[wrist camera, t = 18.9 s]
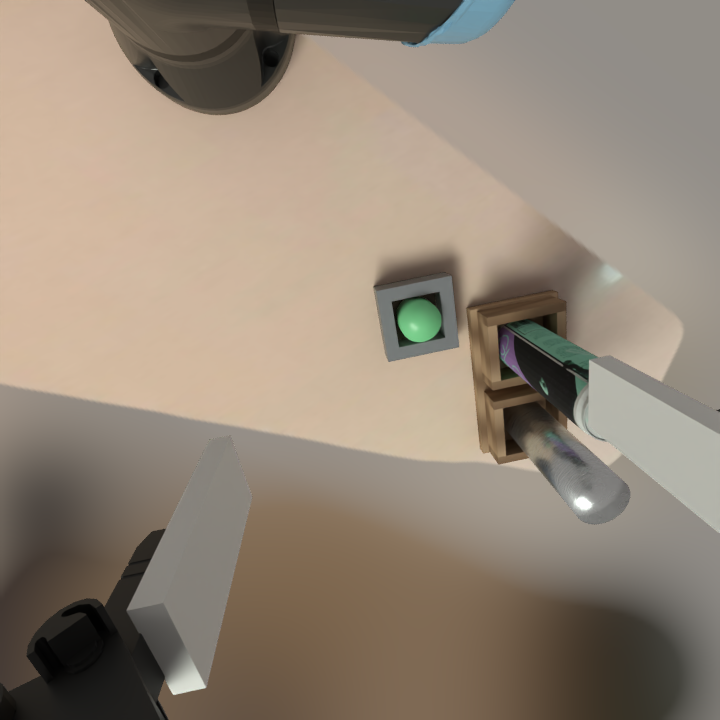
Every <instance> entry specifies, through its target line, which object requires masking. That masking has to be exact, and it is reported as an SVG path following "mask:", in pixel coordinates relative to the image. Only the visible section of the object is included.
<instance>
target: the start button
mask: <svg viewBox="0 0 720 720" xmlns="http://www.w3.org/2000/svg"><path fill="white" fill-rule="evenodd" d="M395 317H396V322H397V325H398V326H399V328H400V329H401V331H402V333H403V334H404V335H405V337H406V338H408V339H409V340H411V341H414V342H425V341H428V340H430V339H431V338H433V337H434V336H435V335H436V334H437V333H438V331H439V329H440V327H441V314H440V312H439V310H438V309H437V308H436V307H435V306H434V305H433V304H432V303H431V302H430V301H429V300H427V299H426V298H424V297H421V296H416V297H411V298H406V299H405V300H403V301H402V302H401V303H400V304H399V306H398V308H397V310H396V316H395Z"/></svg>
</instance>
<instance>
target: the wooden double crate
mask: <svg viewBox="0 0 720 720" xmlns="http://www.w3.org/2000/svg"><path fill="white" fill-rule="evenodd" d="M467 318H468V329H469V339H470V349H471V359H472V370H473V380H474V390H475V401H476V411H477V421H478V432H479V442H480V449H481V450H482V452H483V454H484V453H488V452H490V453H491V454H492V456H493V457H494V459H495V460H496V461H497V463H498V464H503V463H508V462H512V461H517V460H522V459H527V458H529V457H528V456H527V455H526V454H525V452H524V451H523V450H522V449H521V448H520V446H519V445H518V444H517V443H516V441H515V440H514V439H513V438H512V437H511V435H510V434H509V433H508V432H507V430H506V429H505V428H504V418H503V408H506V407H511V406H516V405H521V404H525V403H530V402H535V401H536V402H537V403H539V404H540V405H541V406H542V407H543V408H544V409H545V410H546V411H547V412H548V413H549V414H551V415H552V416H553V417H554V418H555V419H556V420H557V421H558V422H559V423H560V424H562V425H563V426H564V427H565V428H566V429H567V417H566V416H565V415H564V414H563V413H562V412H560V411H559V410H558V409H557V408H556V407H555V406H554V405H552V404H551V403H550V402H549V401H548V400H547V399H545V398H544V397H543V396H542V395H541V394H540V393H539V392H537V391H536V390H535V389H534V388H533V387H532V386H530V385H529V384H528V383H527V382H526V381H525V380H523V379H522V378H521V377H520V376H519V375H518V374H517V373H515V372H514V371H513V370H512V369H511V368H510V367H508V366H507V365H506V364H505V363H504V362H503V361H502V360H500V359H499V347H498V333H497V328H498V327H499V326H500V325H501V324H505V323H510V322H514V321H519V320H524V319H529V320H531V321H533V322H535V323H537V324H538V325H540V326H542V327H544V328H546V329H547V330H549V331H551V332H553V333H555V334H557V335H558V336H560V337H562V338H564V339H566V340H567V337H566V301H564V300H561V299H558V292H556V291H553V290H550V291H546V292H541V293H536V294H531V295H526V296H522V297H517V298H512V299H507V300H502V301H497V302H493V303H488V304H483V305H478V306H473V307H469V308H467Z"/></svg>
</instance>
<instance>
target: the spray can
mask: <svg viewBox="0 0 720 720" xmlns="http://www.w3.org/2000/svg"><path fill="white" fill-rule="evenodd" d="M497 333H498V347H499V359H500V360H502V361H503V362H504V363H505V364H506V365H507V366H508V367H510V368H511V369H512V370H513V371H514V372H515V373H517V374H518V375H519V376H520V377H521V378H522V379H523V380H525V381H526V382H527V383H528V384H529V385H530V386H532V387H533V388H534V389H535V390H536V391H537V392H539V393H540V394H541V395H542V396H543V397H544V398H545V399H547V400H548V401H549V402H550V403H551V404H552V405H554V406H555V407H556V408H557V409H558V410H559V411H560V412H562V413H563V414H564V415H565V416H566V417H567V418H569V419H570V420H571V421H572V422H573V423H574V424H575V425H577V426H578V427H579V428H580V429H581V430H582V431H584V432H585V433H587V434H588V435H590V436H592V437H593V438H595V439H597V440H600V441H605V442H608V441H606V440H605V439H604V438H603V437H602V436H600V435H599V434H598V433H597V432H595V431H594V430H593V429H592V428H591V427H589V426H588V402H589V360H590V359H595V358H598V357H596V356H595V355H593V354H591V353H589V352H587V351H586V350H584V349H582V348H580V347H578V346H577V345H575V344H573V343H571V342H569V341H567V340H566V339H564V338H562V337H560V336H558V335H557V334H555V333H553V332H551V331H549V330H547V329H546V328H544V327H542V326H540V325H538V324H537V323H535V322H533V321H531V320H529V319H524V320H519V321H514V322H510V323H505V324H501V325H500V326H499V327H498V328H497Z"/></svg>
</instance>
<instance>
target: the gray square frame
mask: <svg viewBox="0 0 720 720" xmlns="http://www.w3.org/2000/svg"><path fill="white" fill-rule="evenodd" d="M373 288H374V293H375V299H376V305H377V310H378V316H379V322H380V327H381V333H382V338H383V344H384V350H385V355H386V357H387V359H388V362H390V361H395V360H400V359H405V358H409V357H414V356H419V355H424V354H429V353H433V352H438V351H443V350H448V349H453V348H457V347H459V340H458V331H457V322H456V313H455V303H454V294H453V285H452V276H451V275H449V274H447V273H446V272H443V273H438V274H433V275H429V276H424V277H419V278H414V279H409V280H404V281H399V282H395V283H390V284H385V285H380V286H375V287H373ZM431 293H435V300H436V308H437V309H438V310H439V312H440V314H441V327H440V329H439V332H438V333H437V334H436V335H435V336H434V337H433V338H431V339H430V340H428V341H425V342H414V341H411V340H409V339H408V338H405V339H401V340H398V338H397V332H396V326H395V320H394V314H393V308H392V301H397V300H402V299H406V298H411V297H416V296H421V295H426V294H431Z"/></svg>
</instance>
